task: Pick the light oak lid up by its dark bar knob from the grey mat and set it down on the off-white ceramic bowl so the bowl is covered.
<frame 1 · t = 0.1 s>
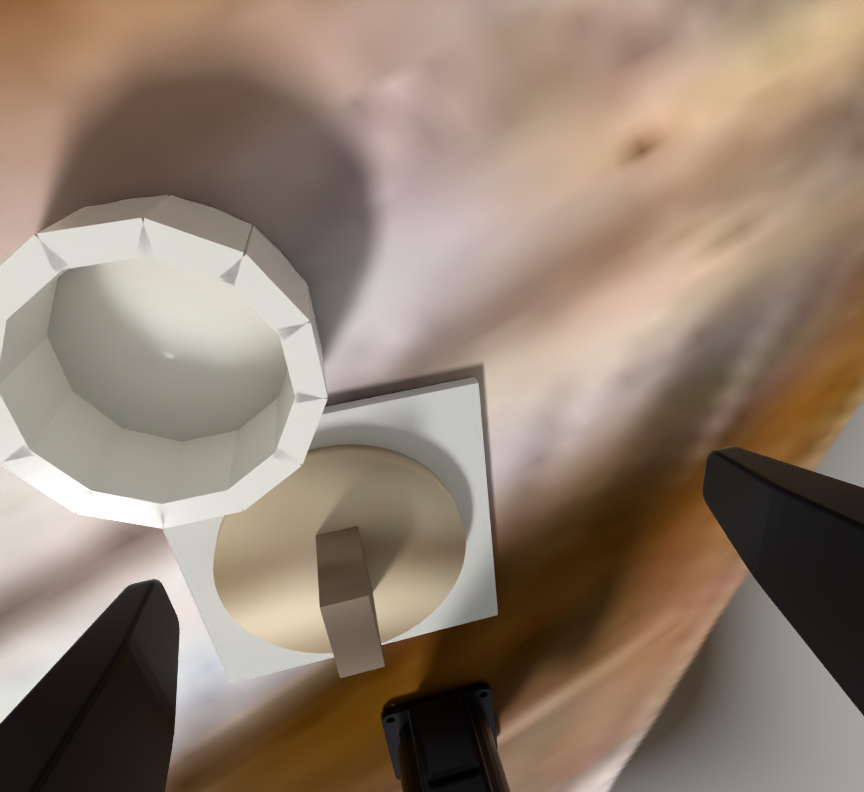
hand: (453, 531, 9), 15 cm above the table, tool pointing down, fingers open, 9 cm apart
lid: (343, 546, 27), point 1 cm above the table, touching mat
mat: (342, 538, 27), on the table
bowl: (179, 338, 22), on the table
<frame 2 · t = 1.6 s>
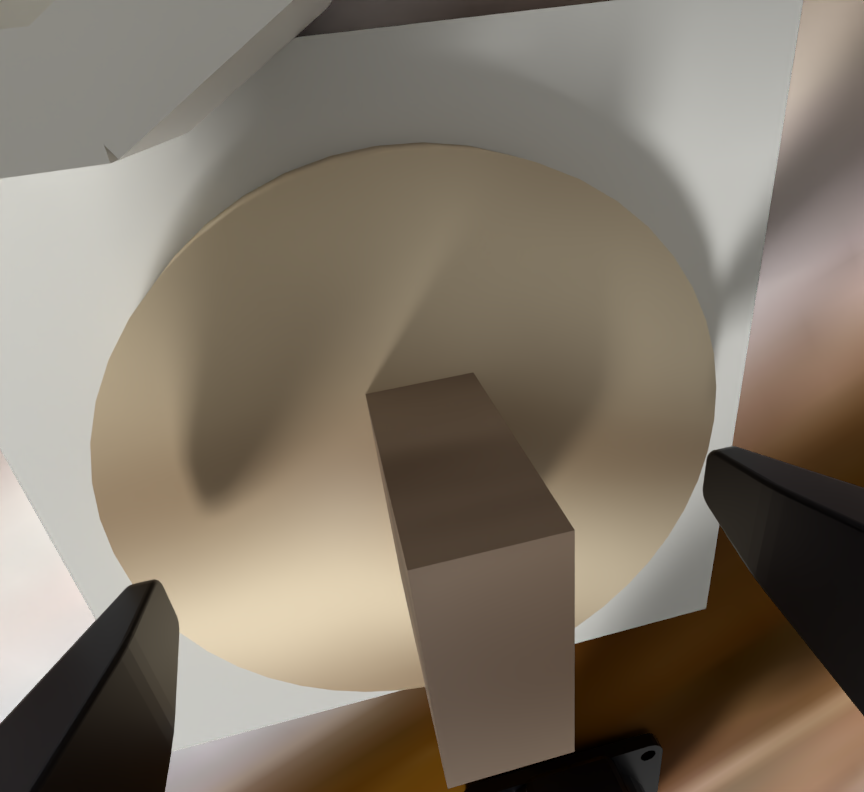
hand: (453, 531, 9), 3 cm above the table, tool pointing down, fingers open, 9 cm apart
lid: (421, 446, 12), point 1 cm above the table, touching mat
mat: (415, 431, 12), on the table
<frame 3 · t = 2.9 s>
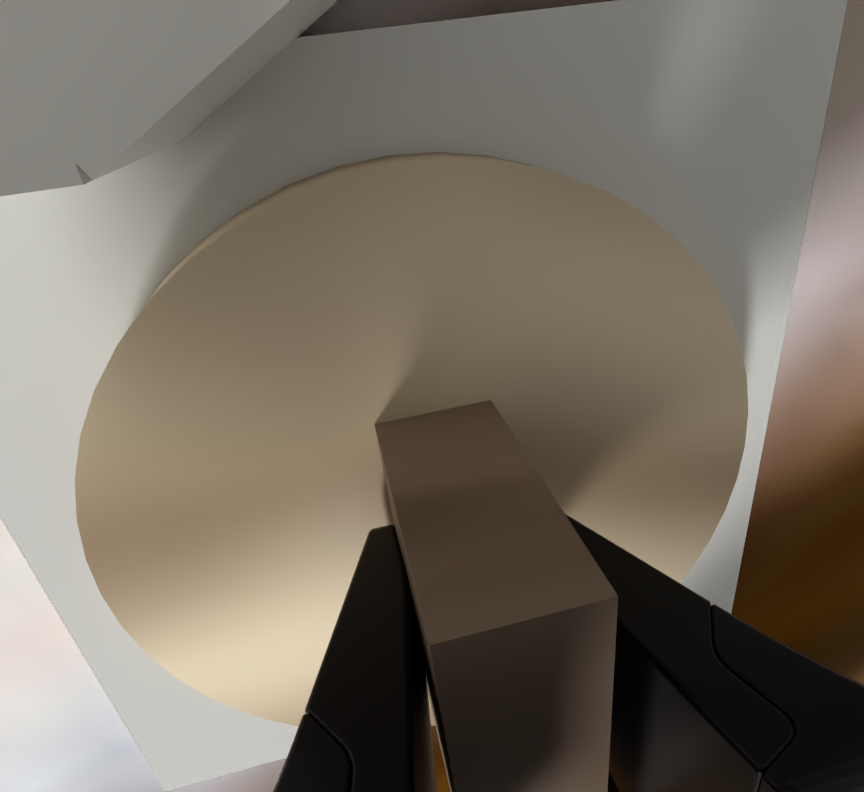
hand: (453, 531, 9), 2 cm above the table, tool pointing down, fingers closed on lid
lid: (431, 474, 11), point 1 cm above the table, touching gripper, mat
mat: (425, 456, 11), on the table
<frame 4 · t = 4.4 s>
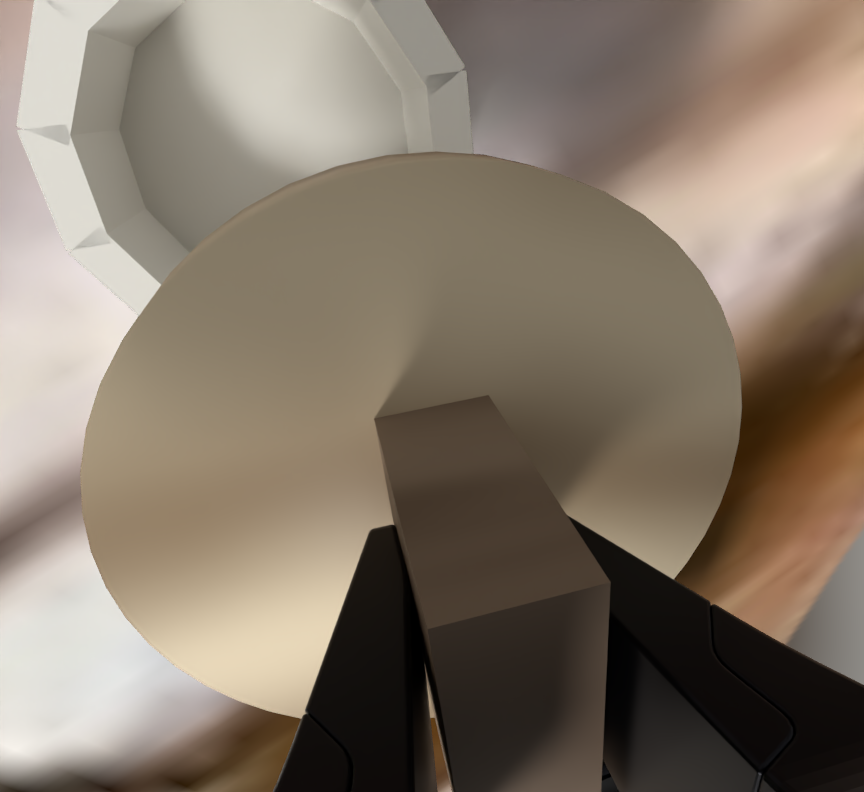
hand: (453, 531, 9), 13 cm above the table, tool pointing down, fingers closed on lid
lid: (430, 469, 11), point 11 cm above the table, touching gripper
bowl: (273, 148, 18), on the table
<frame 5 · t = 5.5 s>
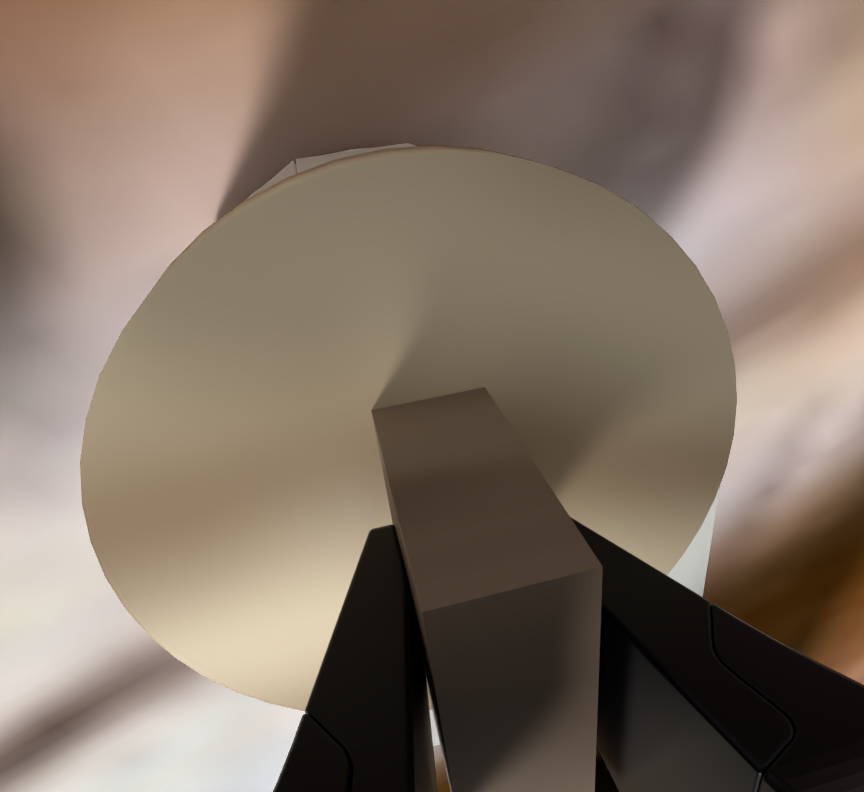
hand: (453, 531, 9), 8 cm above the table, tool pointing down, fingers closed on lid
lid: (428, 462, 11), point 6 cm above the table, touching gripper
mat: (530, 588, 22), on the table
bowl: (382, 341, 16), on the table
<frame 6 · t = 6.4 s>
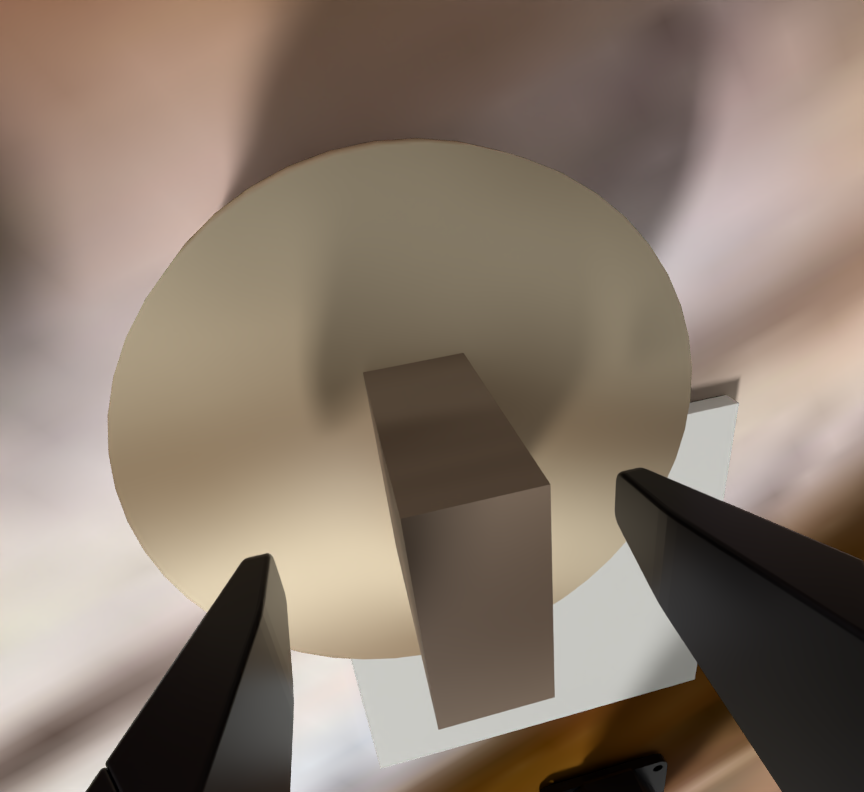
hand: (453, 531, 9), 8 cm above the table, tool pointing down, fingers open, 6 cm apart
lid: (415, 425, 12), point 4 cm above the table, touching bowl
mat: (533, 594, 22), on the table
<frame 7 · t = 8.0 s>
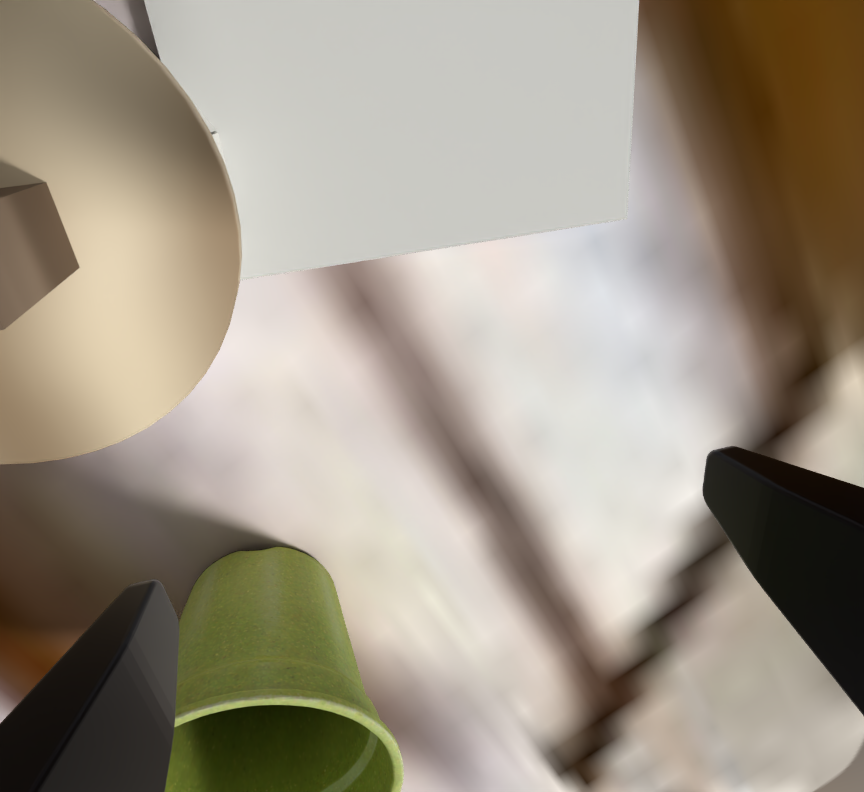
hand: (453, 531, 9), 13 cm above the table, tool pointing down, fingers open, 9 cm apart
plant pot: (263, 594, 26), on the table
mat: (406, 4, 17), on the table
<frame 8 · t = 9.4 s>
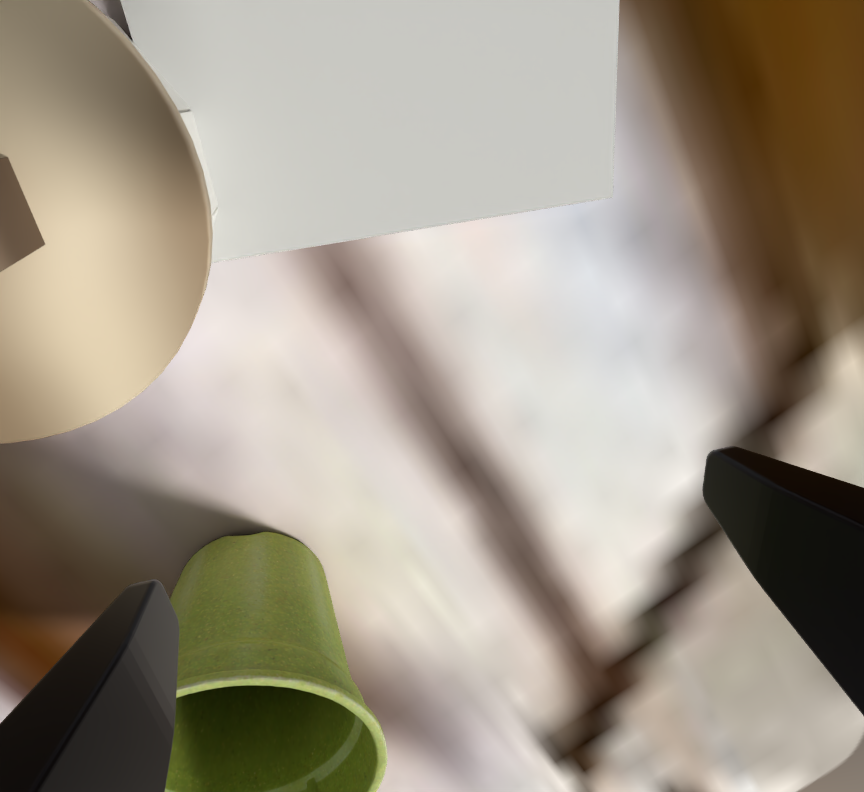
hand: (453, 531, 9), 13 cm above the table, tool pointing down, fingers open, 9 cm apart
plant pot: (252, 579, 26), on the table
bowl: (33, 182, 17), on the table
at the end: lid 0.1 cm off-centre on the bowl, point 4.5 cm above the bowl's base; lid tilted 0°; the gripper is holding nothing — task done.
